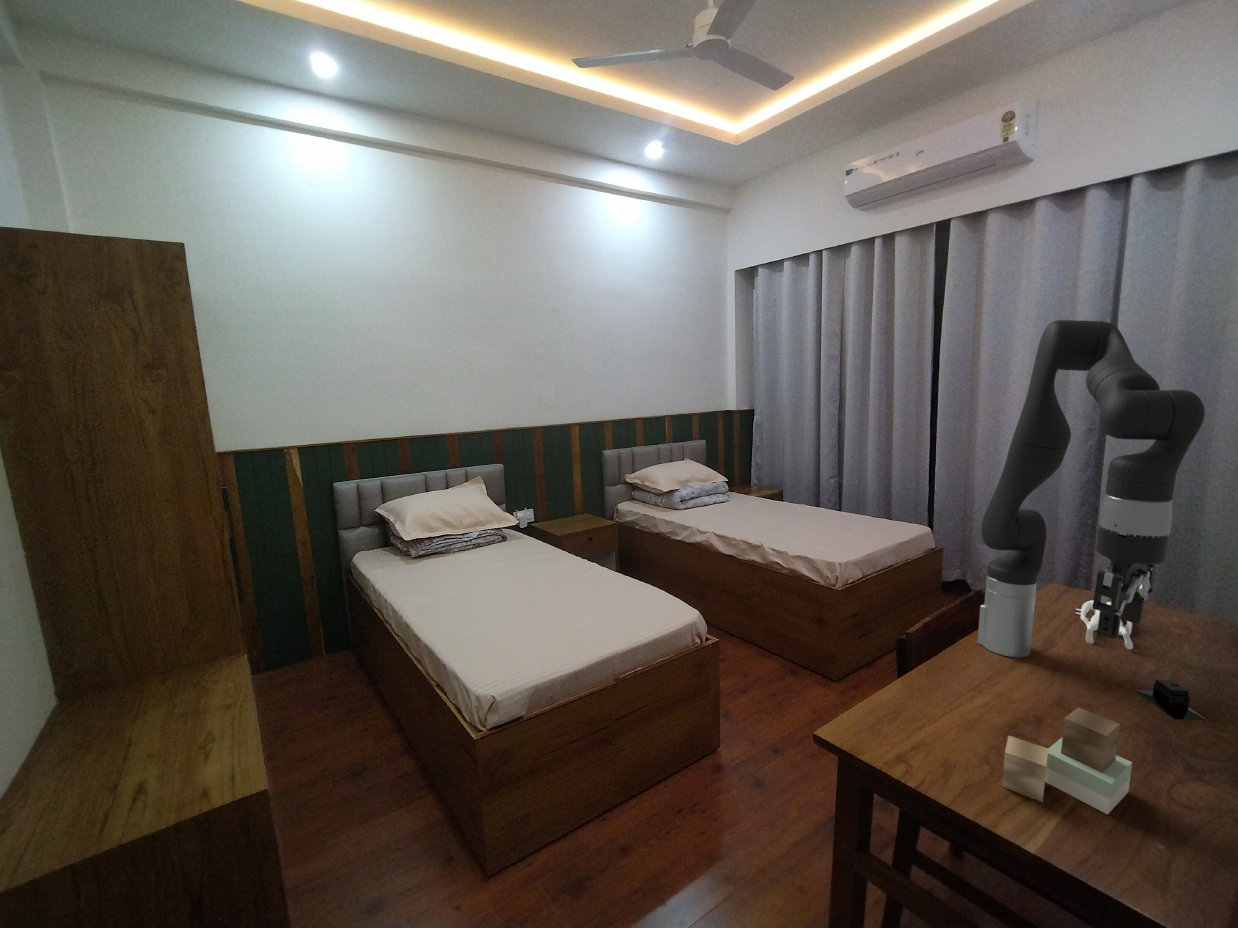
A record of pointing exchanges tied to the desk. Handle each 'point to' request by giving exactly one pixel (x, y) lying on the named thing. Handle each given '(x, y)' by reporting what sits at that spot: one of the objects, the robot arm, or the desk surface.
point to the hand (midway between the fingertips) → (1119, 628)
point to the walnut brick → (1090, 739)
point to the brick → (1025, 768)
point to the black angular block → (1171, 700)
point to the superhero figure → (1095, 620)
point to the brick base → (1086, 792)
